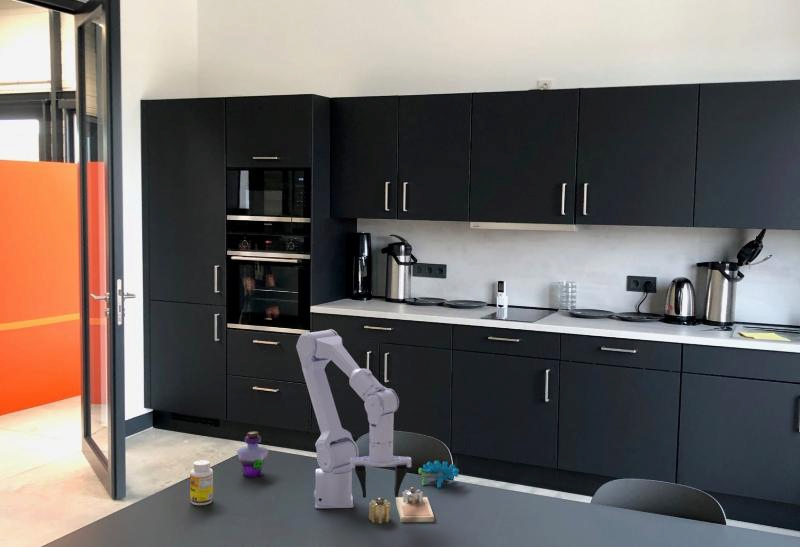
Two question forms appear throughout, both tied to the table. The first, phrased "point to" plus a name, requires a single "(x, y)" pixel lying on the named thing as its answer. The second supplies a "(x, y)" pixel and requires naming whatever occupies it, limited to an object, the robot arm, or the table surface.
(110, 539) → the table surface
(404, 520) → the plate
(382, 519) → the planet gear
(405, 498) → the sun gear
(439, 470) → the toy dinosaur
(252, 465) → the potion bottle
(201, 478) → the supplement bottle
